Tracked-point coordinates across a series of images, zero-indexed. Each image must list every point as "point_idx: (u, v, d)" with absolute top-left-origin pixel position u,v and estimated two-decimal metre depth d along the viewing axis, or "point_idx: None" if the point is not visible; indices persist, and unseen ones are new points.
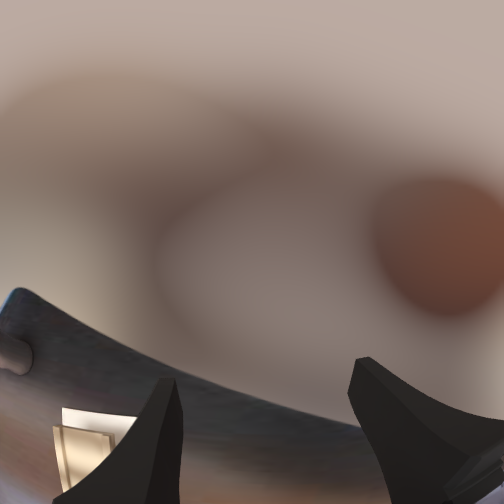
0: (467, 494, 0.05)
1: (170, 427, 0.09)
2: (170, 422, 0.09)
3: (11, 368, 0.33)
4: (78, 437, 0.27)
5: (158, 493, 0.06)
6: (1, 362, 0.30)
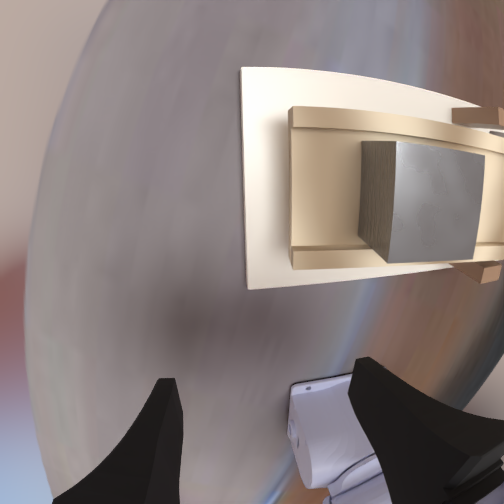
0: (467, 494, 0.05)
1: (170, 427, 0.09)
2: (170, 422, 0.09)
3: None
4: None
5: (158, 493, 0.06)
6: None
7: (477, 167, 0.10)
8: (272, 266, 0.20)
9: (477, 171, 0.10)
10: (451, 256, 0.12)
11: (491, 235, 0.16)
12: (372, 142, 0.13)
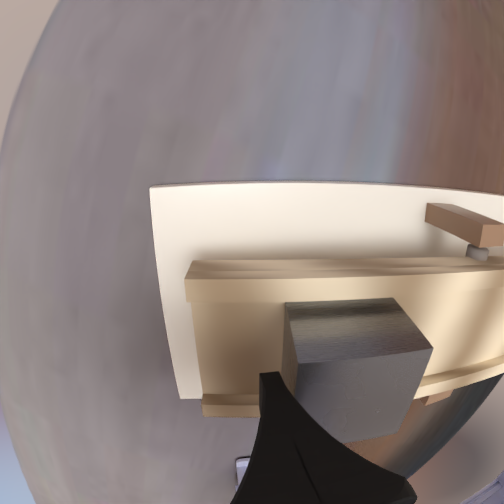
0: None
1: None
2: None
3: None
4: None
5: None
6: None
7: (418, 363, 0.09)
8: None
9: (417, 366, 0.09)
10: (367, 436, 0.11)
11: (443, 366, 0.15)
12: (289, 322, 0.11)
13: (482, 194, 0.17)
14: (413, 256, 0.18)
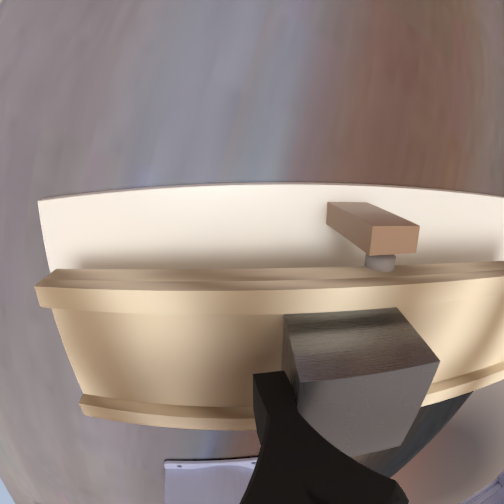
0: None
1: None
2: None
3: None
4: None
5: None
6: None
7: (424, 377, 0.09)
8: None
9: (422, 380, 0.09)
10: (370, 450, 0.10)
11: None
12: (288, 337, 0.11)
13: (414, 189, 0.16)
14: (314, 264, 0.17)
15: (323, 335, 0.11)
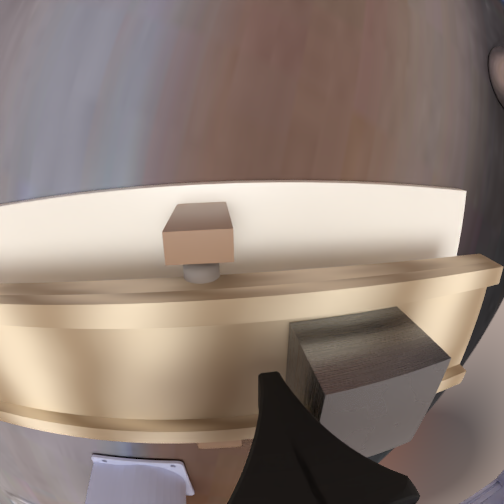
0: None
1: None
2: None
3: None
4: (467, 318, 0.14)
5: None
6: None
7: (436, 374, 0.09)
8: None
9: (435, 378, 0.09)
10: (383, 449, 0.10)
11: (192, 413, 0.13)
12: (300, 347, 0.10)
13: (293, 183, 0.15)
14: (172, 270, 0.16)
15: (335, 342, 0.10)
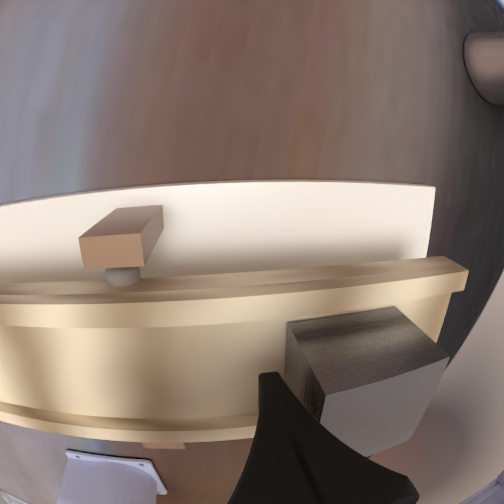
0: None
1: None
2: None
3: None
4: (429, 327, 0.13)
5: None
6: None
7: (435, 373, 0.09)
8: None
9: (434, 376, 0.09)
10: (383, 448, 0.10)
11: (129, 412, 0.12)
12: (299, 347, 0.10)
13: (229, 184, 0.15)
14: None
15: (334, 342, 0.10)
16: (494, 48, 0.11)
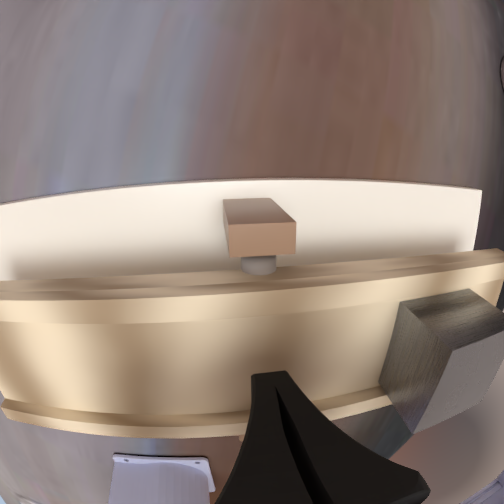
0: None
1: None
2: None
3: None
4: None
5: None
6: None
7: None
8: None
9: None
10: (464, 408, 0.11)
11: (240, 405, 0.13)
12: (417, 319, 0.11)
13: (332, 181, 0.16)
14: (215, 264, 0.16)
15: (440, 314, 0.11)
16: None
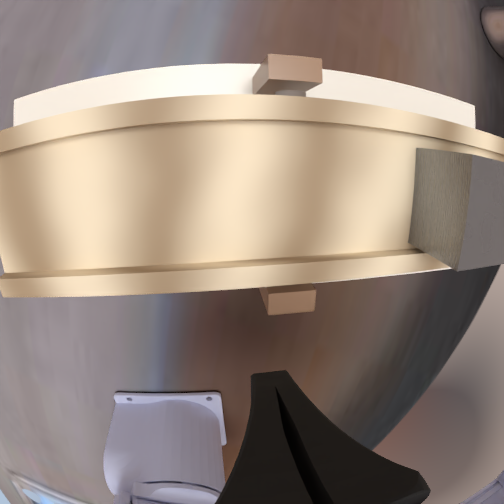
0: None
1: None
2: None
3: None
4: None
5: None
6: None
7: None
8: None
9: None
10: (499, 260, 0.11)
11: (273, 248, 0.14)
12: (434, 151, 0.12)
13: (343, 73, 0.16)
14: None
15: None
16: (503, 15, 0.13)
